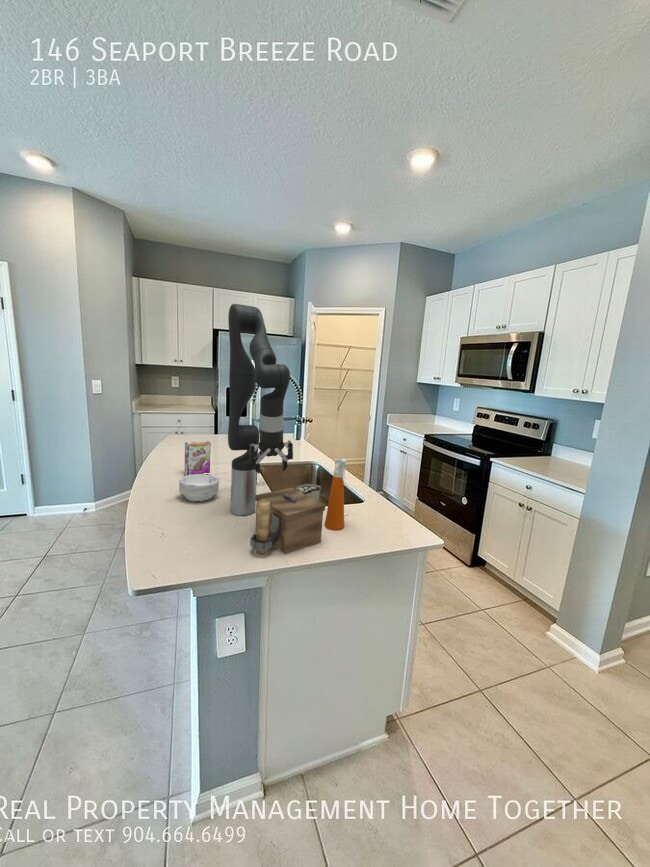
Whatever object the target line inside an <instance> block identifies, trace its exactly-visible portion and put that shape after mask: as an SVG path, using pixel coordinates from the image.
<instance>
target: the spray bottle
mask: <svg viewBox="0 0 650 867" xmlns="http://www.w3.org/2000/svg"><path fill="white" fill-rule="evenodd" d="M347 462H348V461H347V459H346V458H338V459H336V460H335V462H334V466H335V467H334V469H333V475H332V481H331V482H332V483H331V487H330V493H329V496H328V498H329V499H328V503H327V509H326V516H325V521H324V526H325V528H327V529H328V530H331V531H339V530H342V529H344V527H345V488H344V487H345V486H344V484H346V483H347V481H346V480H347V479H346V472H345V466H346V465H347Z"/></svg>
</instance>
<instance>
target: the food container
mask: <svg viewBox="0 0 650 867" xmlns="http://www.w3.org/2000/svg"><path fill="white" fill-rule="evenodd" d="M295 490H297V491H299V492H301V493H303V494H305V495H307V496H309V497H310V498H312V499H314V500H316V501H318V502H320V501H319V500H320V494H321V491H322V486H321V485H318V484H311V483H308V484H307V483H305V484H301V485H297V487H296V489H295Z"/></svg>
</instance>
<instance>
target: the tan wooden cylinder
mask: <svg viewBox="0 0 650 867" xmlns="http://www.w3.org/2000/svg"><path fill="white" fill-rule="evenodd" d="M269 515H270V501H269V500H259V501H258V507H257V532H256V533H255V534H256V541H257V542H266V541H268V538H269ZM268 553H269V549H266V550H259V549H255V554H256V555H259V556H261V555H262V556H263V555H267V554H268Z"/></svg>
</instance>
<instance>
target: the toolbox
mask: <svg viewBox="0 0 650 867" xmlns="http://www.w3.org/2000/svg"><path fill="white" fill-rule="evenodd" d="M255 500H256V506H255V532H256V533H257V507H258V501H259V500H269V501H270V515H269V534H272V533H273V532H272V514H276V515H277V516H279V517H280V518H281V530H280V537H278V541H277V542H274V544H273V546H274V547H275V548H277V549H278V551H280V552H281V553H282V554H284V555H286V554H290V553H293V552H296V551H298V550H302V549H304V548H307V547H311V546H314V545H316V544H319V543H321V542H322V531H323V519H324V518H323V516H324V512H326V505H325V504H323V503H322V502H320V501H319V502H318V501H316V500H314V499H312V498H310V497H309V496H307V495H305V494H303V493H301V492H299V491H297V490H296V489H295V488H293V487H289V488H283V489H279V490H278V489H277V490H274V491H268V492H263V493H258V494H256V495H255Z"/></svg>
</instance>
